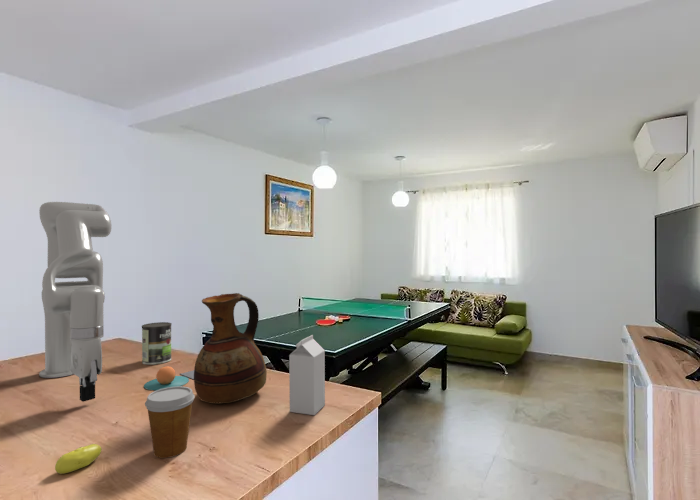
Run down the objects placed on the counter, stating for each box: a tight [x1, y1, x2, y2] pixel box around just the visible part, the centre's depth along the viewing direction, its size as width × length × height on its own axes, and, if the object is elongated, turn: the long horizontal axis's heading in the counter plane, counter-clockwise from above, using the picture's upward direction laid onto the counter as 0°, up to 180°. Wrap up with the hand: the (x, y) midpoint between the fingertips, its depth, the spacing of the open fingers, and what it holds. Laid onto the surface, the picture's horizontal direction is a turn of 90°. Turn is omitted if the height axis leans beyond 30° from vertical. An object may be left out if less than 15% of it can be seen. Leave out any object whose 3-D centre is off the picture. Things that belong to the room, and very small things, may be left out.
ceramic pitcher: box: [193, 292, 267, 404], centre depth 112 cm, size 20×20×30 cm
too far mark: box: [179, 369, 194, 381], centre depth 132 cm, size 10×10×1 cm
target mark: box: [143, 375, 190, 391], centre depth 123 cm, size 13×13×1 cm
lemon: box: [54, 443, 102, 475], centre depth 75 cm, size 4×8×4 cm, turn 145°
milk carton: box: [288, 334, 326, 416], centre depth 102 cm, size 7×7×19 cm
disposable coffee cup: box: [144, 386, 195, 459], centre depth 81 cm, size 10×10×12 cm
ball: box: [155, 365, 176, 384], centre depth 122 cm, size 6×6×6 cm
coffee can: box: [141, 321, 172, 366], centre depth 148 cm, size 10×10×14 cm
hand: (87, 399), depth 106 cm, fingers closed
